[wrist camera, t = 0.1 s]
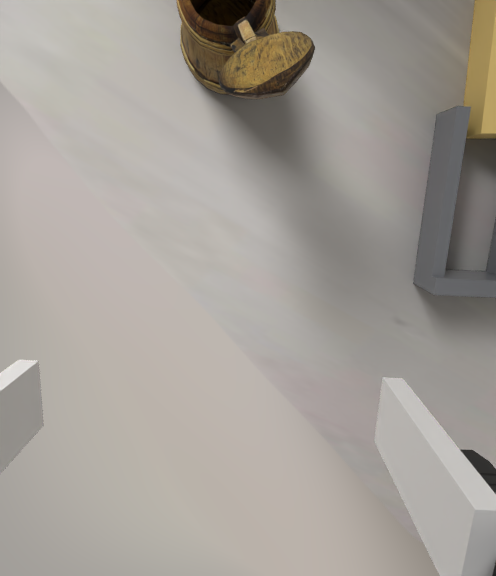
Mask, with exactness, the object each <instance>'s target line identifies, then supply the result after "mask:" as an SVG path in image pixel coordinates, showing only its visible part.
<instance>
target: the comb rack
mask: <svg viewBox="0 0 496 576" xmlns="http://www.w3.org/2000/svg"><path fill="white" fill-rule="evenodd" d="M470 110H471V107H468V106H456V107H454V108H451V109H449V110H446V111H444V112H441V113H439V114H437V117H436V124H435V131H434V138H433V145H432V152H431V160H430V167H429V174H428V181H427V188H426V195H425V202H424V209H423V217H422V224H421V231H420V238H419V245H418V252H417V259H416V266H415V274H414V281H413V283H414V284H416V285H417V286H419V287H421V288H422V289H424V290H426V291H428V292H429V293H431V294H433V295H446V296H469V297H492V298H496V219H495V225H494V230H493V236H492V241H491V247H490V252H489V258H488V263H487V269H486V271H467V270H445V269H446V262H447V256H448V250H449V243H450V237H451V231H452V224H453V218H454V212H455V205H456V199H457V193H458V186H459V180H460V174H461V167H462V161H463V155H464V148H465V142H466V136H467V129H468V123H469V117H470Z"/></svg>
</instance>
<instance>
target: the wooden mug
mask: <svg viewBox="0 0 496 576" xmlns="http://www.w3.org/2000/svg"><path fill="white" fill-rule="evenodd" d="M275 1H276V0H177V7H178V11H179V15H180V18H181V20H182V24H181V45H180V46H181V49H182V53H183V56H184V59H185V61H186V63H187V65H188V67H189V69H190V71H191V72H192V73H193V75H194V76H195V77H196V79H197V80H198V81H200V82H201V83H202V84H203V85H204V86H205V87H207V88H208V89H210V90H212V91H215V92H217V93H219V94H230V95H233V96H236V97H240V98H246V99H263V98H268V97H274V96H280V95H284V94H285V93H286V92H287V91H288V90H289V89H290V88H291V87H292V86H293V85H294V84H295V83H296V81H297V80H298V79H299V78H300V77H301V75H302V74H303V73H304V72H305V71H306V69H307V68H308V67H309V65H310V62H311V60H312V57H313V53H314V50H315V46H314V44H313V41H312V40H311V38H309V37H308V36H307V35H305V34H303V33H302V32H293V31H292V32H281V33H279V29H278V25H277V20H276V17H275V15H274V14H275V10H276V5H275Z"/></svg>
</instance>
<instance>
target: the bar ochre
mask: <svg viewBox="0 0 496 576" xmlns="http://www.w3.org/2000/svg"><path fill="white" fill-rule="evenodd" d="M464 106H468V107H471V110H470V117H469V123H468V129H467V136H466V139H485V138H496V0H475V4H474V14H473V23H472V32H471V41H470V51H469V60H468V69H467V78H466V87H465V97H464Z"/></svg>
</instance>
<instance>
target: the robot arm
mask: <svg viewBox="0 0 496 576" xmlns="http://www.w3.org/2000/svg"><path fill="white" fill-rule="evenodd" d="M43 425H44V423H43V410H42V397H41V384H40V372H39V361H34V360H18V361H17V362H15V363H14V364H12V365H11V366H9V367H8V368H7V369H5V370H4V371H2V372H1V373H0V474H1V473H2V472H3V471H4V469H5V468H6V467H7V466H8V465H9V464H10V463H11V462H12V461H13V459H14V458H15V457H16V456H17V455H18V454H19V453H20V451H21V450H22V449H23V448H24V447H25V446H26V445H27V444H28V442H29V441H30V440H31V439H32V438H33V437H34V436H35V435H36V433H37V432H38V431H39V430H40V429H41V428H42V427H43ZM374 442H375V444H376V446H377V448H378V450H379V452H380V455H381V457H382V459H383V461H384V463H385V465H386V467H387V469H388V471H389V473H390V475H391V477H392V479H393V481H394V483H395V485H396V487H397V489H398V492H399V494H400V496H401V498H402V500H403V502H404V504H405V506H406V508H407V510H408V512H409V514H410V516H411V518H412V520H413V522H414V524H415V527H416V529H417V531H418V533H419V535H420V537H421V539H422V541H423V543H424V545H425V547H426V549H427V551H428V553H429V555H430V557H431V559H432V561H433V563H434V566H435V567H436V570H437V572H438V574H439V576H496V469H495V468H494V467H493V465H492V464H491V463H490V462H489V461H488V460H486V459H485V458H483V457H482V456H480V455H479V454H478V453H476V452H475V451H473V450H460V449H459V448H458V447H457V445H456V444H455V443H454V442H453V440H452V439H451V438H450V437H449V435H448V434H447V433H446V432H445V430H444V429H443V428H442V427H441V425H440V424H439V423H438V422H437V420H436V419H435V418H434V417H433V415H432V414H431V413H430V412H429V410H428V409H427V408H426V407H425V405H424V404H423V403H422V402H421V400H420V399H419V398H418V397H417V395H416V394H415V393H414V392H413V390H412V389H411V388H410V387H409V386H408V384H407V383H406V382H405V381H404V379H403V378H387V377H383V378H382V386H381V393H380V401H379V408H378V415H377V423H376V430H375V438H374Z"/></svg>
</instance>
